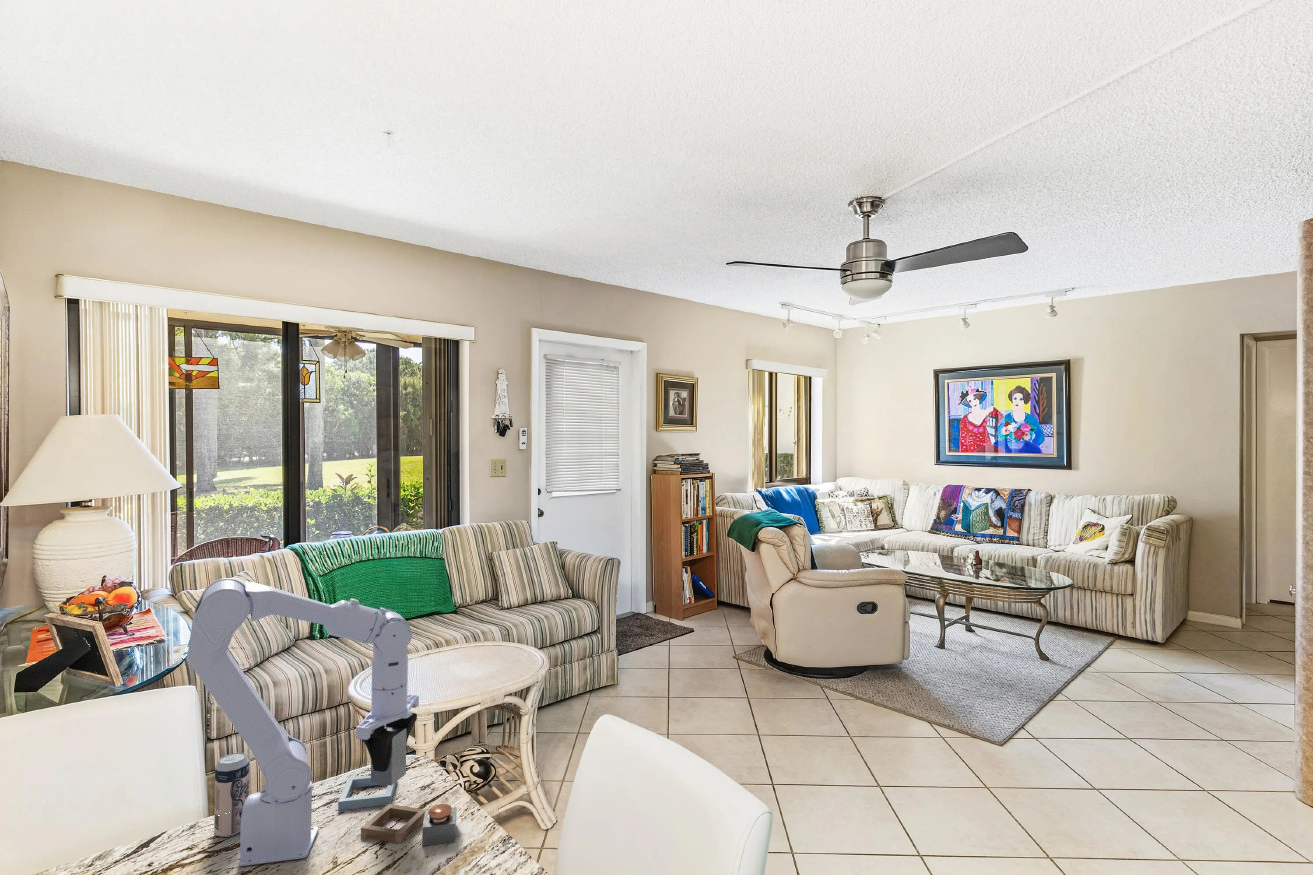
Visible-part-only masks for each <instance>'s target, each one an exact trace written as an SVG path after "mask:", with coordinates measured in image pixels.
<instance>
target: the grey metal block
mask: <svg viewBox="0 0 1313 875" xmlns="http://www.w3.org/2000/svg"><path fill="white" fill-rule="evenodd" d="M385 728H387V731H395V734H394V737H393V739H392V742H391V746H390V750H389V760H388V766H387V770H386V771H385V772H380V771H374V769H373V765H372V761H371V760H370V775H371V783H377V784H384V785H385V786H388V785H391V786H392V785H393V784H394V783H395V782H398V781H399V780H400V779H402V778H403V777H404V776H405V775H406V774H407V773H406V771H407V770H406V769H407V744H406V728H403V727H395V726H387V725H385Z"/></svg>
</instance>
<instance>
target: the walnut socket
mask: <svg viewBox="0 0 1313 875" xmlns="http://www.w3.org/2000/svg"><path fill="white" fill-rule="evenodd" d="M427 810H428V809H424V808H420V807H419V808H418V807H412V806H411V807H410V806H406V805H405V806H404V805H398V804H388V805H385V807H384V808H382V809H381V810H380V811H379V812H378V813H376V814H375V815H373V817H372V818H370V820H368V821H367V822H366V823H364V825H362V826H361V827H360V838H365V839H369V840H370V839H372V840H377V841H383V842H389V843H396V844H402V843H403V842H405V840H407V838H408V837H409V836H411V835H412V834H413V833H414V832H415V831H416V830H417V829H418V828H419V827H420V826H421V825H423V821H424V816H425V811H427ZM389 818H397V819H404V820H408V821H407V822H406V823H405V824H404V825H403V826H401V828H399V829H398V828H389V827H383V826H382V825H383V823H384V822H386V821H387V820H388V819H389Z"/></svg>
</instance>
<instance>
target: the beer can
mask: <svg viewBox="0 0 1313 875" xmlns="http://www.w3.org/2000/svg"><path fill="white" fill-rule="evenodd" d="M249 795H250V758H249V757H248V756H247V754H246V753H245V752H233V753H229V754H226V755H223V756H221V757H220V758H219V760H218V761H217V763H216V765H215V767H214V809H213V810H214V812H213V814H214V816H213V817H214V819H213V832H214V835H215V836H216V837H222V838H229V837H234V836H237V835H238V834H241V816H242V811H243V807H244V803H245V801H246V799H247V797H248V796H249ZM229 812H230V813H229ZM225 813H227V814H225ZM218 815H220V816H218Z"/></svg>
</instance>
